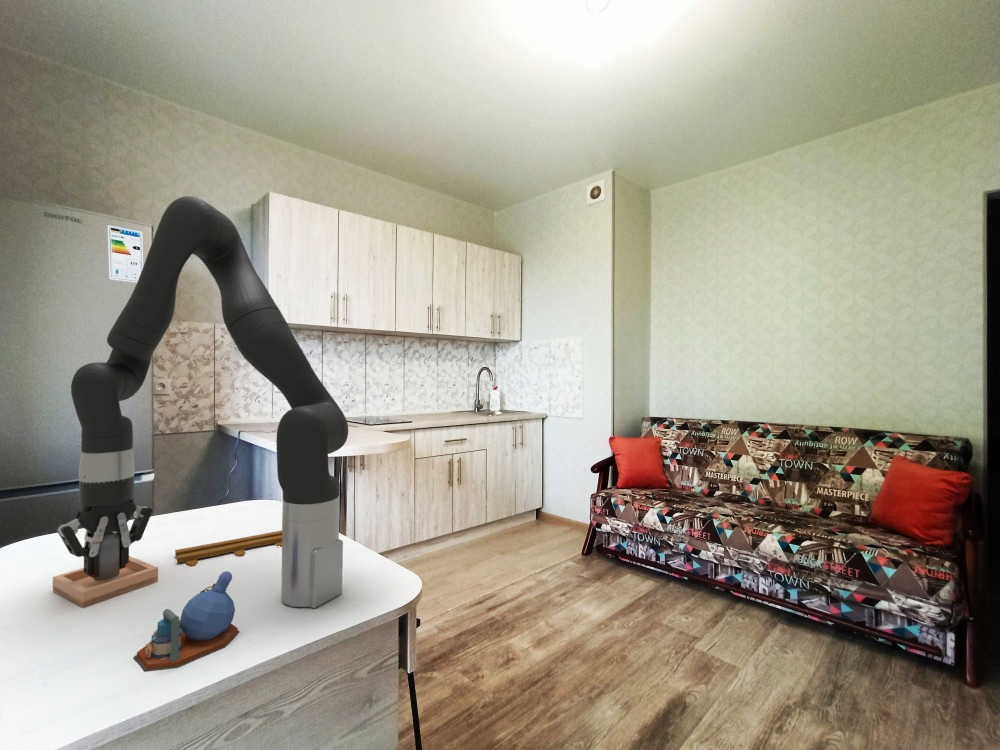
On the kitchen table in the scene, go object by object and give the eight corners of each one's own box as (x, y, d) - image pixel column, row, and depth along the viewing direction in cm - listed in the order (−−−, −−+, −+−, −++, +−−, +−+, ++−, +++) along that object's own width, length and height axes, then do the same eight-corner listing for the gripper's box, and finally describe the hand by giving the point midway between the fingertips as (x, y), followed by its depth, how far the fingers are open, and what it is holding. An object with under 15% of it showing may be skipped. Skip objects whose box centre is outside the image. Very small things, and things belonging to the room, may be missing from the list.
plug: (123, 574, 85) (123, 531, 85) (99, 582, 82) (99, 537, 82) (113, 569, 87) (113, 527, 87) (89, 577, 84) (89, 533, 84)
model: (219, 617, 76) (220, 559, 75) (247, 638, 70) (248, 576, 70) (127, 652, 66) (128, 586, 66) (151, 680, 61) (152, 608, 60)
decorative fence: (174, 555, 100) (178, 572, 92) (174, 545, 100) (178, 562, 92) (299, 531, 115) (312, 544, 107) (299, 523, 115) (312, 536, 107)
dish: (157, 581, 87) (158, 567, 87) (83, 607, 77) (83, 592, 77) (126, 567, 92) (126, 555, 92) (52, 591, 82) (52, 576, 82)
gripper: (66, 487, 76) (66, 593, 76) (162, 470, 89) (162, 562, 89) (45, 480, 80) (45, 582, 80) (141, 465, 92) (140, 553, 92)
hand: (107, 571), depth 84 cm, fingers closed on plug, 3 cm apart
